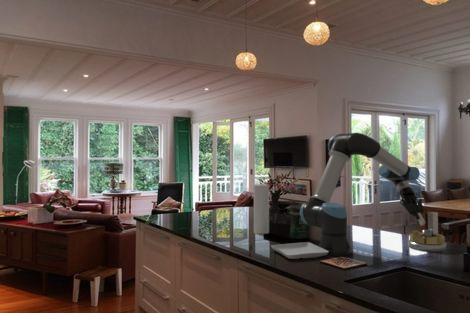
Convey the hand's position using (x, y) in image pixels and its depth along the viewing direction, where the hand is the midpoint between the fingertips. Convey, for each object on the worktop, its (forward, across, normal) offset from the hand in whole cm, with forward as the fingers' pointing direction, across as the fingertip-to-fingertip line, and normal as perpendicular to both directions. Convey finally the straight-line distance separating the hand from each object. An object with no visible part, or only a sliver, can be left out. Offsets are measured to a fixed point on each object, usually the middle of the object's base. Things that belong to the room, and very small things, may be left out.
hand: (423, 223), depth 207 cm
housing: (+16, +6, +1) cm, 17 cm away
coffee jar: (-8, +63, -23) cm, 68 cm away
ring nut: (+13, +6, +4) cm, 15 cm away
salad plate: (+18, +74, +3) cm, 76 cm away
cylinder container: (-22, +81, -36) cm, 91 cm away
